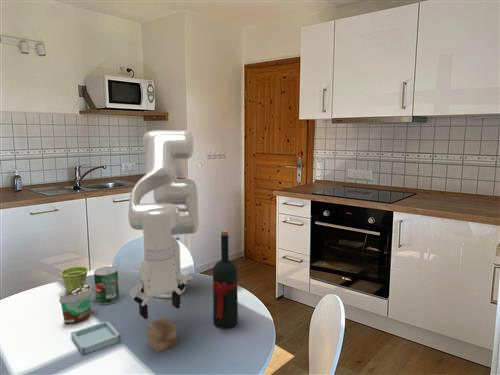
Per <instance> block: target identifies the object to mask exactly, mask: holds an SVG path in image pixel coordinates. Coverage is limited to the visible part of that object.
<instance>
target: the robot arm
mask: <svg viewBox="0 0 500 375" xmlns="http://www.w3.org/2000/svg"><path fill="white" fill-rule="evenodd" d="M142 141H143V142H142V143H143V146H144V147H143V148H144V150H145V152H146V174H144V175H143V176H142V177H141V178H139V180H138V181H137V182H136V183H135V185H134V186H133V187H132V190H131V192H130V193H129V194H130V195H129V201H128V213H127V215H128V224H129V226H130V228H132V229H133V230H135V231H141V230H142V231H143V232H142V233H143V235H142V236H143V238H142V239H143V257H144V258H142V259H141V260H140V265H139V266H140V267H139V278H138V283H137V284H136V285H135V286H133V287H131V289H129V290H128V294H129V296H130V298H131V299H132V300H133V301H134V302H136V303H137V304H138V305H139V306H138V307H139V308H138V309H139V316H140V317H142V318H143V319H144V320H148V319H149V311H148V310H149V308H148V304H147V303H148V300H149V299H150V298H153V297H155V298H159V299H171V305H172V307H174V309H175V308H176V309H180V308H181V307H180V305H181V295H183V294H184V293H185V292H186V284H187V283H191V282H192V281H193V276H191V275H190V276H187V275H184V274H181V273H182V272H181V271H182V270H181V248H180V246H181V245H180V244H179V241H178V240H177V239H176V237H174V236H176V235H193V234H196V233H197V231H198V230H199V225H200V224H199V217H200V216H199V195H198V187H197V183H196V181H195V180H193V179H191V178H177V176H178V175H177V166H176V163H175V160H188V159H191V158H192V156H193V153H194V138H193V134H192V132H191V131H190V130H185V129H183V130H182V129H181V130H179V129H175V130H173V129H171V130H170V129H155V130H149V131H147V132H145V133H144V134H143V138H142ZM152 191H153V193H152V194H153V200H154V203H153V202H152V203H141V200H142V198H144V197H145V196H146V195H147V194H149V193H150V192H152ZM181 205H183V206H185V207H184V208H183V207H182V208H178V207H177V206H181ZM138 293H141V294H140V295H139V296H138Z"/></svg>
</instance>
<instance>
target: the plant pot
mask: <svg viewBox="0 0 500 375" xmlns="http://www.w3.org/2000/svg"><path fill="white" fill-rule="evenodd" d="M88 272H89V268H88V267H86V266H82V265H81V266H79V265H78V266H71V267H67V268H64V269H63V270H61V272H60V275H61V276H62V279H63V282H64V283H63V284H64V287H65V291H66V295H67V294H68V293H69V292H70V291H72V290H73V289H75V288H78V287H79V286H81V285H82V284H83V281H84V282H87V275H88Z"/></svg>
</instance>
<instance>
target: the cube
mask: <svg viewBox="0 0 500 375" xmlns="http://www.w3.org/2000/svg"><path fill="white" fill-rule="evenodd" d="M146 332H147V333H146V334H147V344H148V345H149V346H151V348H152V349H153V350H155V351H156V352H157V353H159V352H162V351H164V350H167V349H169V348H171V347H175V346H176V345H177V340H178V339H177V325H176V324H175V323H174V322H173V321H172V320H170V318H168V317H167V316H166V317H163V318H160V319H157V320H154V321H151V322H148V323H147V324H146Z"/></svg>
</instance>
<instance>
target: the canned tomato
mask: <svg viewBox="0 0 500 375" xmlns="http://www.w3.org/2000/svg"><path fill="white" fill-rule="evenodd" d="M118 274H119V273H118V268H117V267H116V266H102V267H99V268H97V269H95V270H94V271H93V276H94V278H93V279H94V291H95V302H96V304H98V305H111V304H113V303H116V302H117V301H118V300H120V294H119V293H120V292H119V291H120V290H119V275H118Z"/></svg>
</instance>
